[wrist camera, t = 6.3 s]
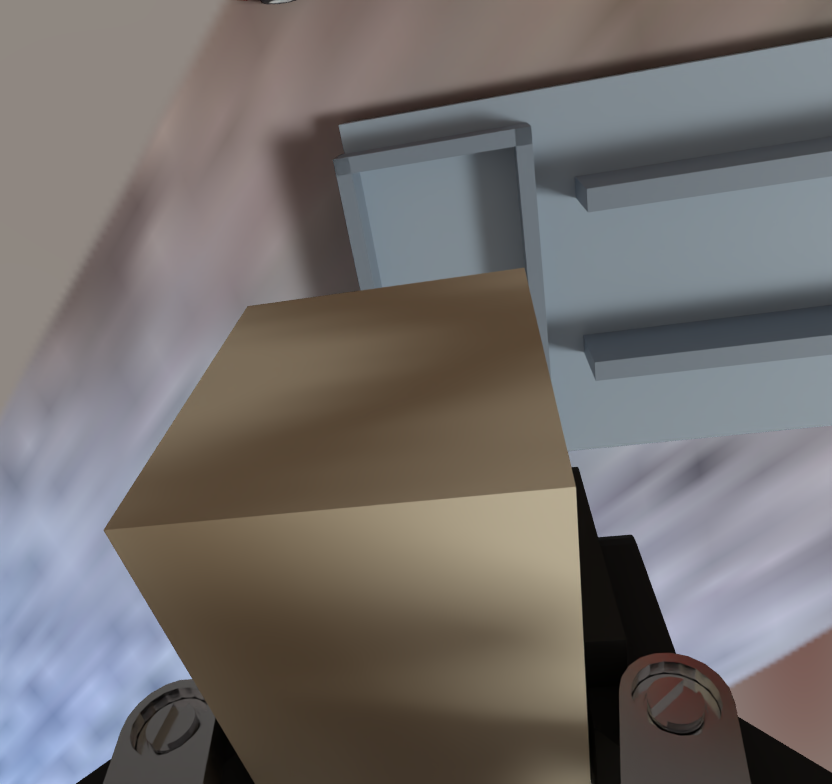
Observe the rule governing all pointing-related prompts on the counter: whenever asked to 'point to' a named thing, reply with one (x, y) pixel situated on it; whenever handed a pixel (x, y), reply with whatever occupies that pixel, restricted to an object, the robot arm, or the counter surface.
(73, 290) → the counter surface
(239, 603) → the tan long rectangular block
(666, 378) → the board
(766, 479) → the counter surface
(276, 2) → the toy fire truck
